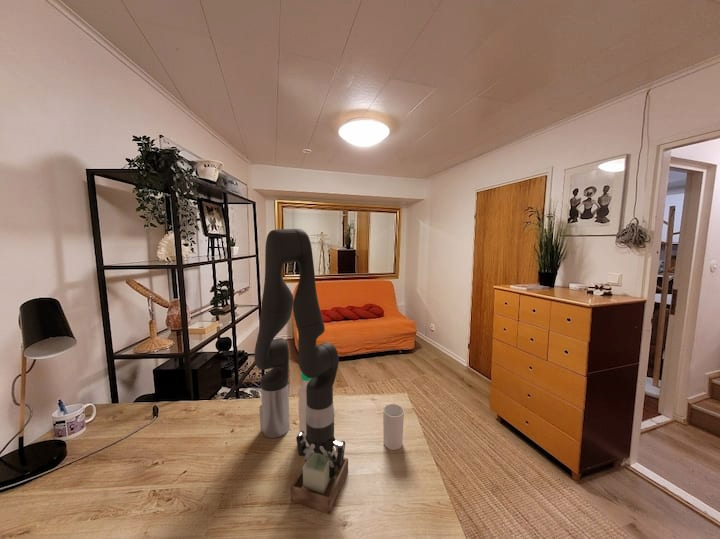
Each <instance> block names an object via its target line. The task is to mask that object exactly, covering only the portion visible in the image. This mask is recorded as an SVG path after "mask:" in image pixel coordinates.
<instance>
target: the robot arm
mask: <svg viewBox="0 0 720 539" xmlns="http://www.w3.org/2000/svg"><path fill="white" fill-rule="evenodd" d="M264 252H265V253H264V254H265V255H264V258H265V259H264V260H265V261H264V264H265V265H264V283H263V284H264V285H263V293H262V297H261V298H262V299H261V304H260V305H261V307H260V318H259V320H260V321H259V329H258V334H257V338H256V343H255V347H254V358H253V359H254V362H255V363H254V364H255V365H256V368H258V369H259V370H260V371H262V370H263V371H264V370H268V371H267V372H266V373H265V374H263V375H262V376H261V378H260V394H261V405H260V406H259V408H258V409H259V424H260V426H259V427H260V432H261V433H262V434H263V436H265V437H266V438H269V439H270V438H271V439H276V438H280V437H282V436H284V435H285V434H286V433H288V431H289V430H290V427H291V426H290V393H289V377H290V376H289V375H290V374H289V373H290V364H289V363H290V348H289V345H288V341H287V340H286V339H285V338H283V337H281V338H279V337H278V338H275V337H276V336H277V335H278V334H279V333H280V332H281V331H282V329H283V328H285V326H286V325H287V324H288V323H289V321H290V319H291V318H292V313H293V317H294V322H295V325H296V329H297V334H298V342H297V343H298V345H297V346H298V347H297V348H298V349H297V350H298V351H297V357H298V358H297V361H298V366H299V369H300V371H301V372H302V373H303V374H304V375H305V376H306V377H308V378H312V379H311V380H310V381H309V382H308V384H307V388H306V399H307V405H306V433H304V431H301V432H300V431H299V433H298V434H297V436H296V438H295V439H296V445H297V446H296V447H297V453H298V456H300V457H303V459H304V460H305V461H304V462H305V463H306V461H307V460H308V458H309V457H310V455H311V453H312V452H313V451H314V453H320V454H322V455H324V457H325V459H326V460H328V462H329V464H330V466H329V478H331V479H332V478H333V477H334V476H335V474H336V472H337V467H340V466H341V463H342V461H343V459H344V458H345V450H346V441H344V440H341V442H340V441H337V440H336V437H335V407H334V391H333V390H334V384H335V380H336V376H337V372H338V367H339V360H340V359H339V353H338V350H337V348H336V346H335V345H334V344H332V343H331V342H323V343H321V344H318V345H317V339H318V338H319V337H320V336H321V335H323V334H324V333H325V328H326V327H325V323H324V319H323V314H322V311H321V308H320V303H319V299H318V294H317V287H316V286H317V284H316V277H315V276H316V274H315V267H314V266H315V265H314V256H313V248H312V244H311V240H310V237H309V234H308V233H307V232H306V230H304V229H301V228H283V229H280V228H279V229H272V230H270V231H269V232H268V234H267V236H266V240H265V250H264ZM290 263H291V264H292V263H297V265H298V272H299V279H298V284H297V288H296V291H295V295H293V292H292V291H291V290H290V288H289V287H288V285H287V284H286V282H285V280H284V278H283V267H284V265H285V264H290ZM305 440H306V441H307V442H308V444H309V446H310V447H306V441H305ZM334 447H335V448H336V452H337V456H336V454H335V449H334ZM307 448H308V449H307ZM328 452H329V453H328ZM305 463H304V464H305Z"/></svg>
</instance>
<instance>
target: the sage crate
mask: <svg viewBox="0 0 720 539" xmlns="http://www.w3.org/2000/svg"><path fill="white" fill-rule="evenodd" d="M333 447H334V449H335V454H336V456H337V452H336V448H335V446H333ZM328 453H329V452H328ZM329 466H330V464H329V462H328V460H326V459H325V457H324V455H322V454H320V453H314V451H313V452H312V453H311V455H310V457H309V458H308V460H307V461H306V463H304V464H303V466H302V468H303V488H306V489H309V490H312V491H315V492H318V493H321V494H324V493H325V491H326V488H327V486H328V484H329V482H330V480H331V478H329Z"/></svg>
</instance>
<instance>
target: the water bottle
mask: <svg viewBox="0 0 720 539" xmlns="http://www.w3.org/2000/svg"><path fill="white" fill-rule="evenodd" d="M300 378H301V381H302V382H301V383H300V386H299V388H298V392H297V395H298V420H299V424H298V429H299V430H298V431H299V433H300V432H301V431H304V433H306V405H307V399H306V388H307V384H308V382H309V381H310V380H311V379H312V378H308V377H306V376H305V375H304V374H303V373H302V372H301V373H300ZM305 441H306V440H305ZM306 448H310V446H309V444H308V442H307V441H306Z"/></svg>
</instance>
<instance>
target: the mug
mask: <svg viewBox="0 0 720 539" xmlns="http://www.w3.org/2000/svg"><path fill="white" fill-rule="evenodd" d="M382 416H383V422H382V423H383V430H382V431H383V444H384V446H385V448H387V449H389V450H391V451H397V450H399V449H401V447H402V445H403V439H404V437H403V436H404V419H405V418H404V417H405V410H404V408H403V407H402V406H401V405H400V404H397V403H395V402H392V403H389V404H386V405H385V406H384V407H383V415H382Z"/></svg>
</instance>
